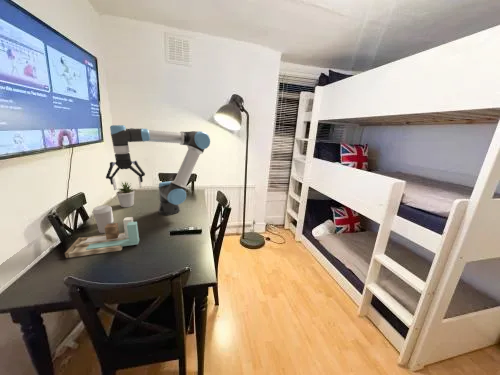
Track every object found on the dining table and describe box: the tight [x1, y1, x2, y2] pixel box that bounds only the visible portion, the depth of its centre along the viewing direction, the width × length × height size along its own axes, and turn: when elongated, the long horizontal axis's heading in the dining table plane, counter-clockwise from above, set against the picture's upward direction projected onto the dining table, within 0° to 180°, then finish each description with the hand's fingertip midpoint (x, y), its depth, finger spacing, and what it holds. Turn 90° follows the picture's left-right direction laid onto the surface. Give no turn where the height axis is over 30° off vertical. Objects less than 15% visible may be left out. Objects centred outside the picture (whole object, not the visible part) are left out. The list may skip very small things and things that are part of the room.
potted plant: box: [115, 182, 136, 208], centre depth 168 cm, size 13×14×20 cm
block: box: [104, 222, 120, 240], centre depth 116 cm, size 5×5×7 cm
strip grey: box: [84, 216, 134, 243], centre depth 115 cm, size 23×5×11 cm, turn 109°
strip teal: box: [86, 221, 140, 250], centre depth 109 cm, size 23×5×11 cm, turn 109°
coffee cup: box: [92, 204, 113, 234], centre depth 127 cm, size 10×10×15 cm
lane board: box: [64, 232, 125, 259], centre depth 112 cm, size 23×16×3 cm
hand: (128, 188), depth 127 cm, fingers open, 13 cm apart
